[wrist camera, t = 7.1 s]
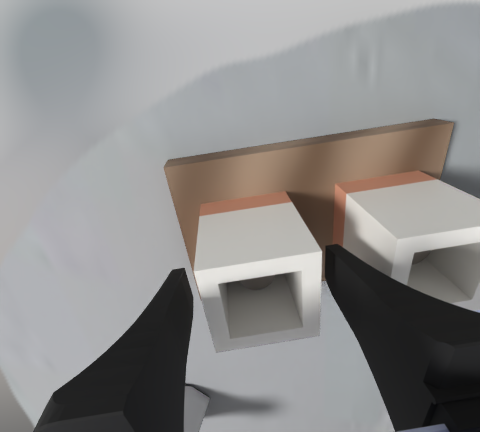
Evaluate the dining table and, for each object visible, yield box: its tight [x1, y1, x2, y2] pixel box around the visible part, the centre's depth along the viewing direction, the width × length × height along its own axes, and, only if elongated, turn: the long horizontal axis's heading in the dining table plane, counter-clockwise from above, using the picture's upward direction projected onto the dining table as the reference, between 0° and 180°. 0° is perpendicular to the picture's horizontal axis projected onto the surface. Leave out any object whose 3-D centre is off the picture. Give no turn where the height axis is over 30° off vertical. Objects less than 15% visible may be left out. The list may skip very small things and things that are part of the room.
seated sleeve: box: [333, 171, 480, 311], centre depth 14 cm, size 5×5×6 cm
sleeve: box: [194, 191, 322, 353], centre depth 14 cm, size 5×5×6 cm
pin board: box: [164, 119, 454, 301], centre depth 16 cm, size 16×10×6 cm, turn 97°
